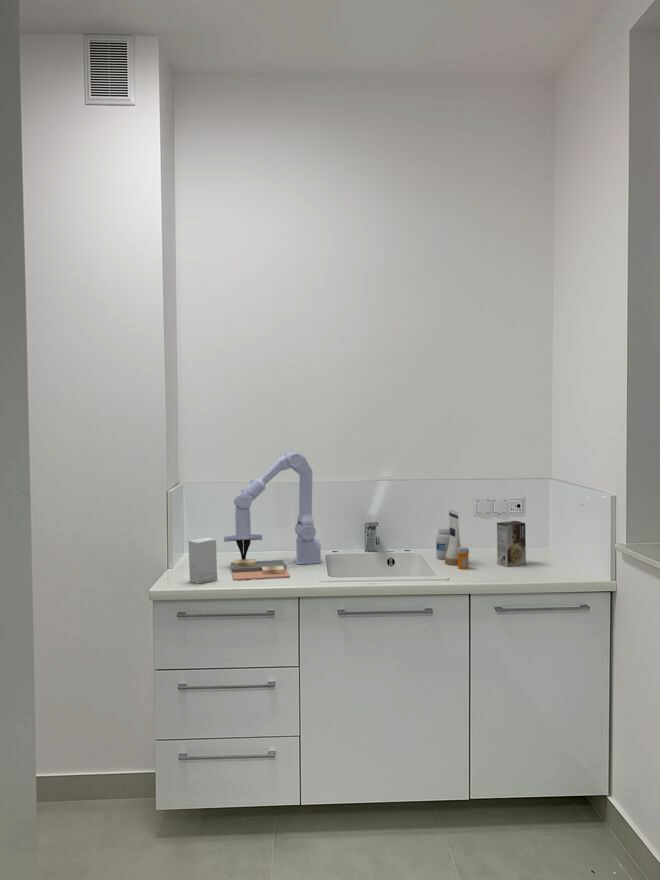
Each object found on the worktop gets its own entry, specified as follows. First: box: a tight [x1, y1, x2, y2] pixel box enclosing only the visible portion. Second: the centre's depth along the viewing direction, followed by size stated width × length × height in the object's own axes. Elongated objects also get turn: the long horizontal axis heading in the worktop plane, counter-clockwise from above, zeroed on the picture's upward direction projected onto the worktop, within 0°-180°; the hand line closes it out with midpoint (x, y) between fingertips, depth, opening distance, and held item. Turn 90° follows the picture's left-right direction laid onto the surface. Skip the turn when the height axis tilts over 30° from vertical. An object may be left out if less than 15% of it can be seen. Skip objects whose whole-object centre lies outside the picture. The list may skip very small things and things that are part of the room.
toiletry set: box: [435, 509, 470, 570], centre depth 272 cm, size 25×8×20 cm, turn 10°
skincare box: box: [188, 536, 218, 584], centre depth 247 cm, size 8×6×15 cm
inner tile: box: [262, 566, 285, 575], centre depth 257 cm, size 8×6×2 cm
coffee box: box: [496, 520, 527, 568], centre depth 268 cm, size 9×6×16 cm
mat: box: [231, 569, 291, 581], centre depth 254 cm, size 20×10×1 cm, turn 101°
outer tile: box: [233, 558, 256, 567], centre depth 263 cm, size 8×6×2 cm
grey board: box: [230, 559, 287, 574], centre depth 265 cm, size 20×11×2 cm, turn 101°
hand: (243, 559), depth 270 cm, fingers closed
